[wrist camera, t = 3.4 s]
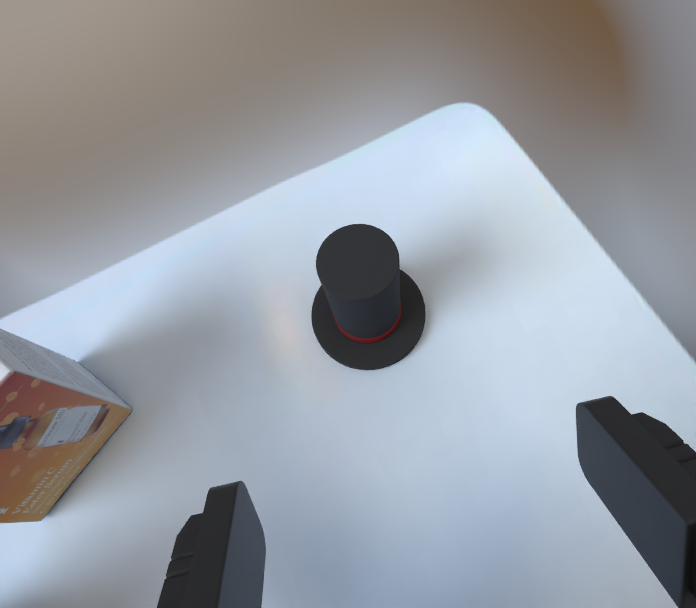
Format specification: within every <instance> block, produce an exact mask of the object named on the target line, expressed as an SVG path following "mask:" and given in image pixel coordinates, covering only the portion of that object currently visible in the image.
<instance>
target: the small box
mask: <svg viewBox="0 0 696 608" xmlns="http://www.w3.org/2000/svg"><path fill="white" fill-rule="evenodd" d="M131 411H132V410H131V408H130V407H129V406H128V405H127V404H126V403H125V402H124V401H122V400H121V399H120V398H119V397H118V396H117V395H116V394H114V393H113V392H112V391H111V390H110V389H109V388H107V387H106V386H105V385H104V384H103V383H101V382H100V381H99V380H98V379H97V378H96V377H94V376H93V375H92V374H91V373H90V372H89V371H87V370H86V369H85V368H84V367H82V366H81V365H80V364H79V363H78V362H76V361H75V360H72V359H70V358H67V357H65V356H63V355H61V354H58V353H56V352H54V351H51V350H49V349H47V348H44V347H42V346H39V345H37V344H35V343H33V342H30V341H28V340H26V339H23V338H21V337H19V336H16V335H14V334H11V333H9V332H7V331H4V330H2V329H0V523H16V522H34V521H41V520H42V519H43V518H44V517H45V516H46V514H47V513H48V512H49V510H50V509H51V508H52V507H53V505H54V504H55V503H56V501H57V500H58V499H59V497H60V496H61V495H62V494H63V492H64V491H65V490H66V489H67V488H68V486H69V485H70V484H71V483H72V482H73V480H74V479H75V478H76V477H77V475H78V474H79V473H80V472H81V471H82V470H83V468H84V467H85V466H86V465H87V464H88V462H89V461H90V460H91V459H92V458H93V456H94V455H95V454H96V453H97V452H98V451H99V449H100V448H101V447H102V446H103V445H104V443H105V442H106V441H107V440H108V439H109V438H110V436H111V435H112V434H113V433H114V432H115V430H116V429H117V428H118V427H119V426H120V424H121V423H122V422H123V421H124V420H125V419H126V418H127V417H128V415H129V414H130V413H131Z"/></svg>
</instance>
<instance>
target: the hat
mask: <svg viewBox="0 0 696 608" xmlns="http://www.w3.org/2000/svg"><path fill="white" fill-rule="evenodd" d="M316 269H317V273H318V276H319V279H320V281H321V284H322V285H321V287H320V288H319V290H318V292H317V294H316V296H315V299H314V302H313V306H312V325H313V329H314V333H315V335H316V337H317V340H318V341H319V343H320V345H321V346H322V348H323V349H324V350H325V351H326V353H327V354H329V355H330V356H331V357H332V358H333V359H335V360H336V361H337V362H339V363H341V364H343V365H345V366H348V367H351V368H355V369H361V370H375V369H381V368H384V367H388V366H390V365H392V364H395V363H396V362H398V361H400V360H401V359H403V358H404V357H405V356H406V355H408V354H409V353H410V351H411V350H412V349H413V348H414V347H415V345H416V344H417V342H418V340H419V339H420V337H421V334H422V331H423V328H424V323H425V305H424V300H423V297H422V294H421V292H420V290H419V288H418V286H417V285H416V284H415V282H414V281H413V280H412V279H411V278H410V277H409V276H408V275H407V274H406V273H405V272H403V271H402V270H400V269H399V253H398V250H397V247H396V245H395V243H394V241H393V240H392V239H391V238H390V236H389V235H388V234H386V233H385V232H384V231H382V230H380V229H379V228H376V227H374V226H371V225H366V224H353V225H348V226H345V227H342V228H340V229H338V230H336V231H334V232H333V233H332V234H330V235H329V236H328V237H327V238H326V239H325V241H324V242H323V243H322V245H321V246H320V249H319V251H318V254H317V259H316Z"/></svg>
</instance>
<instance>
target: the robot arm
mask: <svg viewBox="0 0 696 608" xmlns="http://www.w3.org/2000/svg"><path fill="white" fill-rule="evenodd" d="M576 425H577V446H578V458H579V462H580V465H581V468H582V471H583V473H584V475H585V477H586V479H587V480H588V482H589V483H590V485H591V486H592V488H593V489H594V490H595V492H596V493H597V495H598V496H599V497H600V499H601V500H602V502H603V503H604V504H605V506H606V507H607V508H608V510H609V511H610V513H611V514H612V515H613V517H614V518H615V520H616V521H617V522H618V524H619V525H620V527H621V528H622V529H623V531H624V532H625V534H626V535H627V536H628V538H629V539H630V541H631V542H632V543H633V545H634V546H635V548H636V549H637V550H638V552H639V553H640V555H641V556H642V557H643V559H644V560H645V562H646V563H647V564H648V566H649V567H650V569H651V570H652V571H653V573H654V574H655V576H656V577H657V578H658V580H659V581H660V582H661V584H662V585H663V587H664V588H665V589H666V591H667V592H668V594H669V595H670V596H671V598H672V599H673V601H674V602H675V603H676V605H677V606H678V608H696V452H695V451H694V450H693V449H692V448H691V447H690V446H689V445H688V444H684V442H683V440H682V439H681V438H680V437H679V436H678V435H677V434H676V433H675V432H674V431H673V430H672V429H670V428H669V427H668V426H667V425H666V424H665V423H663V422H660V421H658V420H656V419H654V418H652V417H650V416H648V415H646V414H644V413H642V412H641V413H637V414H632V415H631V414H630V413H629V412H628V411H627V410H626V409H625V408H624V407H623V406H622V405H621V404H620V403H619V402H618V401H617V400H616V399H615V398H614V397H612V396H607V397H603V398H599V399H594V400H590V401H586V402H582V403H578V404H577V406H576ZM265 556H266V546H265V537H264V532H263V528H262V525H261V523H260V520H259V518H258V515H257V513H256V510H255V508H254V505H253V503H252V500H251V498H250V495H249V493H248V490H247V488H246V486H245V484H244V483H243V482H242V481H238V482H234V483H229V484H225V485H221V486H216V487H212V488H210V489H209V491H208V494H207V498H206V503H205V507H204V511H203V513H201V514H197V515H193V516H190V518H189V519H188V521H187V522H186V524H185V525H184V527H183V528H182V530H181V531H180V533H179V534H178V535H177V538H176V542H175V545H174V549H173V552H172V556H171V559H172V560H171V561H170V563H169V566H168V570H167V573H166V576H167V578H166V579H165V581H164V584H163V588H162V591H161V595H160V598H159V602H158V605H157V608H261V605H262V592H263V580H264V568H265Z"/></svg>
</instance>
